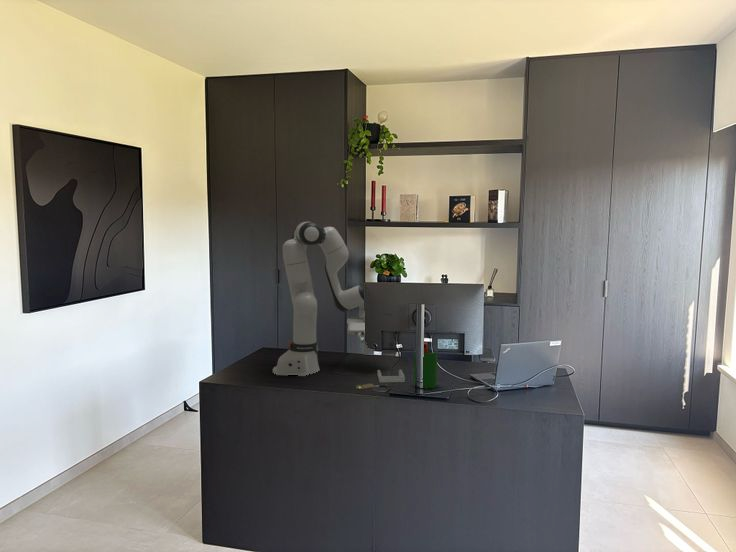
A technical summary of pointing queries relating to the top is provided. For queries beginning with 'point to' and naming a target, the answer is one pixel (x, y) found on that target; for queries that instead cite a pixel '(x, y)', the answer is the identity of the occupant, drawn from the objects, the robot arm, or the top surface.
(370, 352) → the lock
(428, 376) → the green utensil holder
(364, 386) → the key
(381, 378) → the bracket
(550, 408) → the top surface
